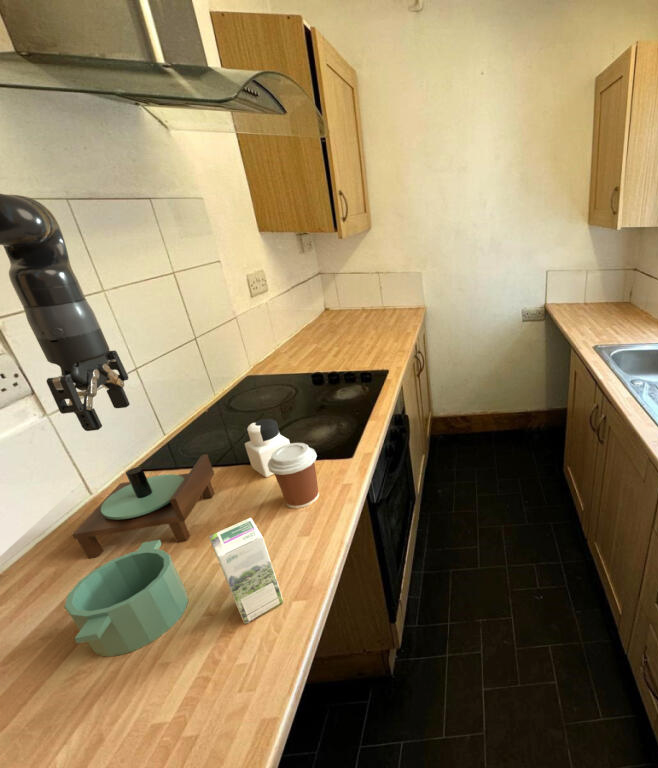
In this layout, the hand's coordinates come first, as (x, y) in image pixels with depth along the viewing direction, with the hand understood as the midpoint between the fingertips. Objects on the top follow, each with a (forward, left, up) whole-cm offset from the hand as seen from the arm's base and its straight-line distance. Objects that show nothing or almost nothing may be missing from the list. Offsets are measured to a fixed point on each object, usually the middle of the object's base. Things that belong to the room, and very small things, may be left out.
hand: (109, 417), depth 74 cm
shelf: (0, 0, -24) cm, 24 cm away
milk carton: (+25, -26, -24) cm, 43 cm away
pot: (+8, -24, -24) cm, 35 cm away
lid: (0, 0, -18) cm, 18 cm away
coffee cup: (+27, 0, -24) cm, 36 cm away
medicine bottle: (+18, +15, -24) cm, 34 cm away
